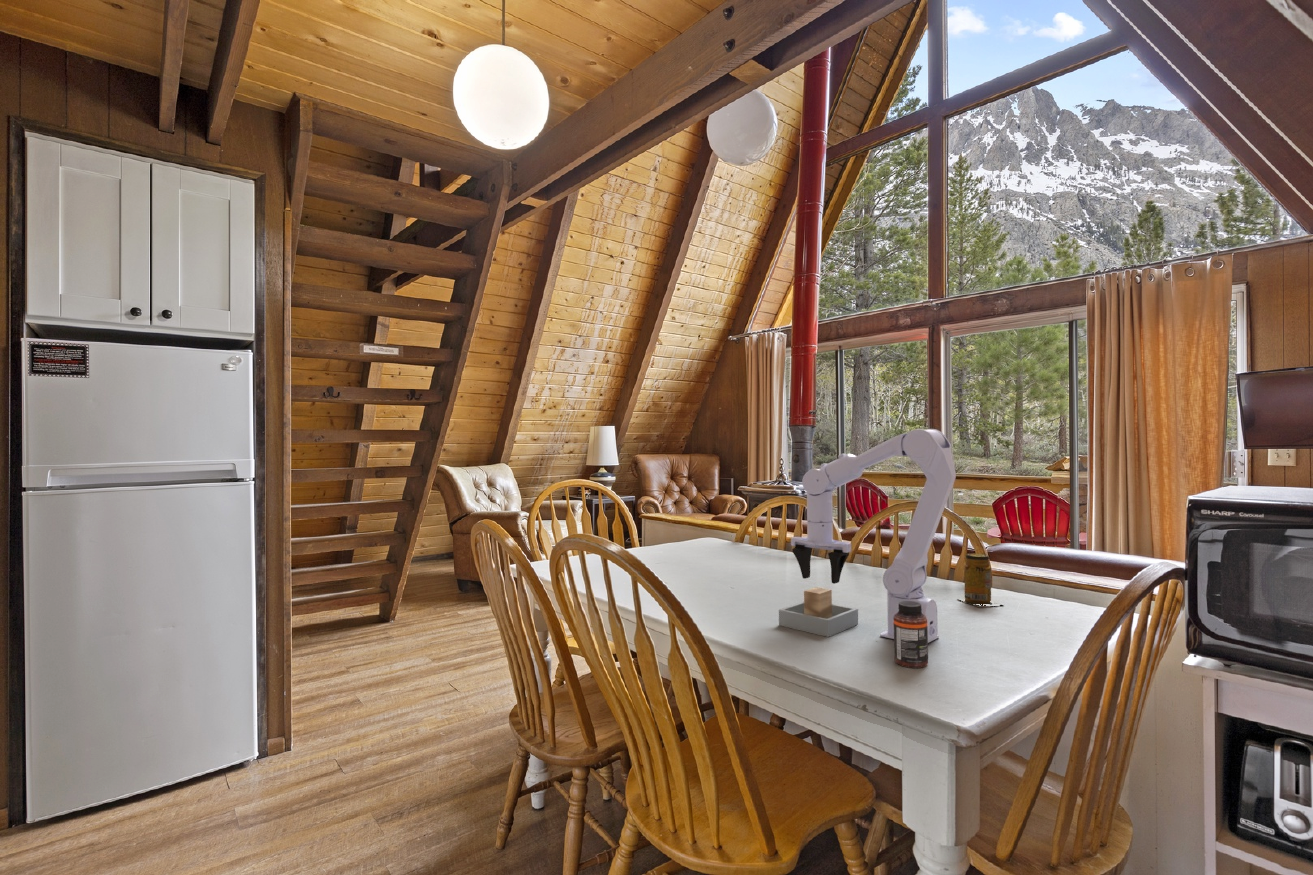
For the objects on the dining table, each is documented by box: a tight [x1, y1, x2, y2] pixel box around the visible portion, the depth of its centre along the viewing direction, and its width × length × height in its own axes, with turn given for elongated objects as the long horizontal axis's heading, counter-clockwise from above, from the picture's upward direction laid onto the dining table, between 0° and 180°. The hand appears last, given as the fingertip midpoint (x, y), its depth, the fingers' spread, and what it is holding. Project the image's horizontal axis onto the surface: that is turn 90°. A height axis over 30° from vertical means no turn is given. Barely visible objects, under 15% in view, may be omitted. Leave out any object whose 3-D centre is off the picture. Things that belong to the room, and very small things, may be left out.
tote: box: [778, 601, 859, 638], centre depth 149 cm, size 13×13×4 cm
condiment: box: [962, 552, 1000, 608], centre depth 166 cm, size 7×8×12 cm
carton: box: [803, 586, 833, 619], centre depth 148 cm, size 4×5×7 cm
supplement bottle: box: [893, 601, 929, 669], centre depth 123 cm, size 6×6×11 cm
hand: (820, 580), depth 151 cm, fingers open, 7 cm apart
